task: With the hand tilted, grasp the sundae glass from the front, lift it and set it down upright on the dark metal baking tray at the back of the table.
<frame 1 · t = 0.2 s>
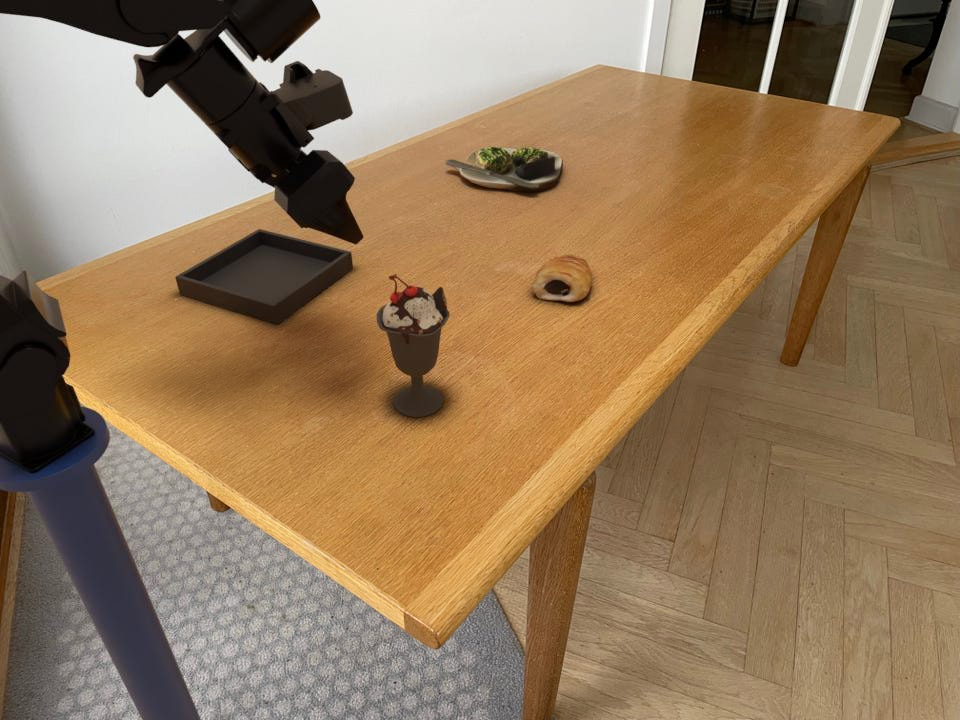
hand: (341, 222, 72), 14 cm above the table, tool tilted 35°, fingers open, 9 cm apart
baking tray: (269, 281, 92), on the table
sundae: (418, 403, 72), on the table
pastry: (562, 289, 91), on the table
salad plate: (513, 176, 122), on the table
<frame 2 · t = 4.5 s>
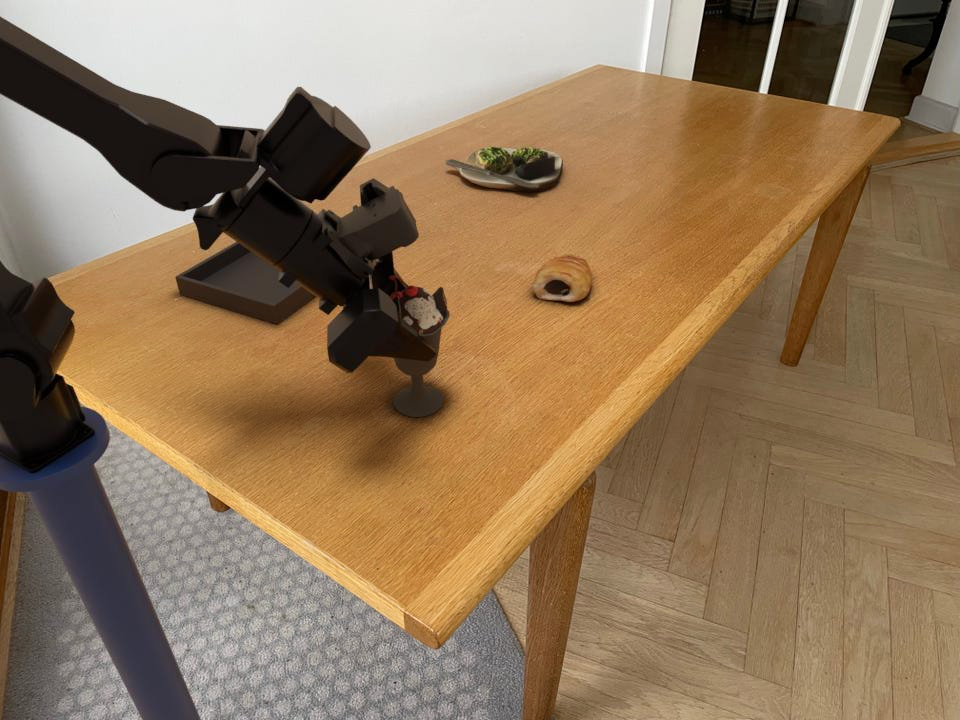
hand: (429, 336, 68), 8 cm above the table, tool tilted 45°, fingers closed on sundae, 6 cm apart
sundae: (418, 403, 72), on the table, touching gripper
everything else where it was.
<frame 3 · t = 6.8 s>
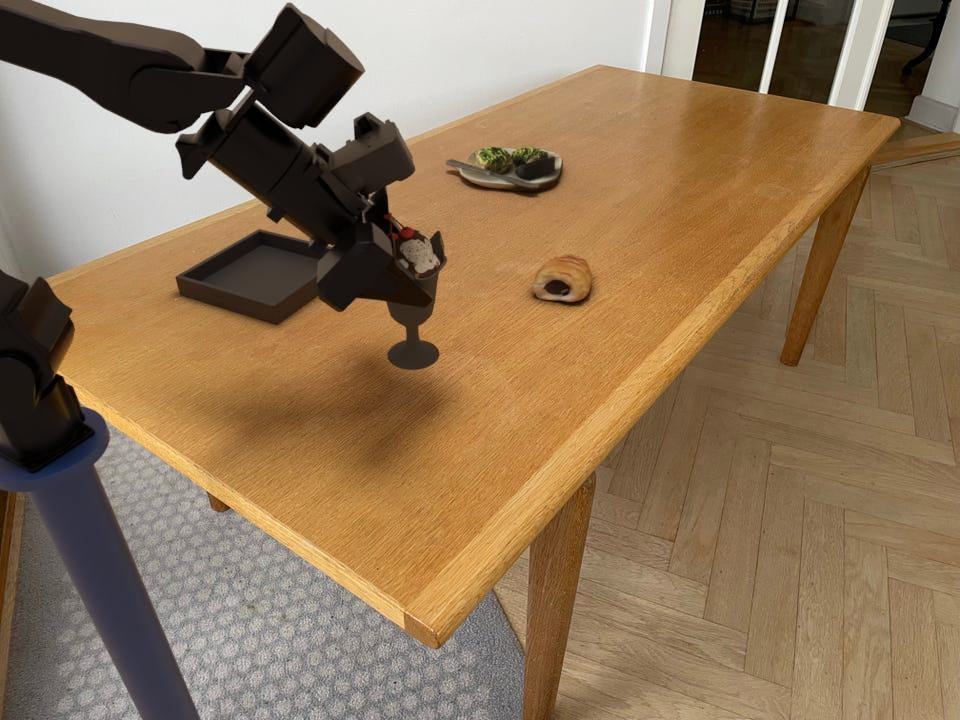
hand: (425, 284, 64), 13 cm above the table, tool tilted 45°, fingers closed on sundae, 6 cm apart
sundae: (413, 357, 69), point 5 cm above the table, touching gripper
everything else where it was.
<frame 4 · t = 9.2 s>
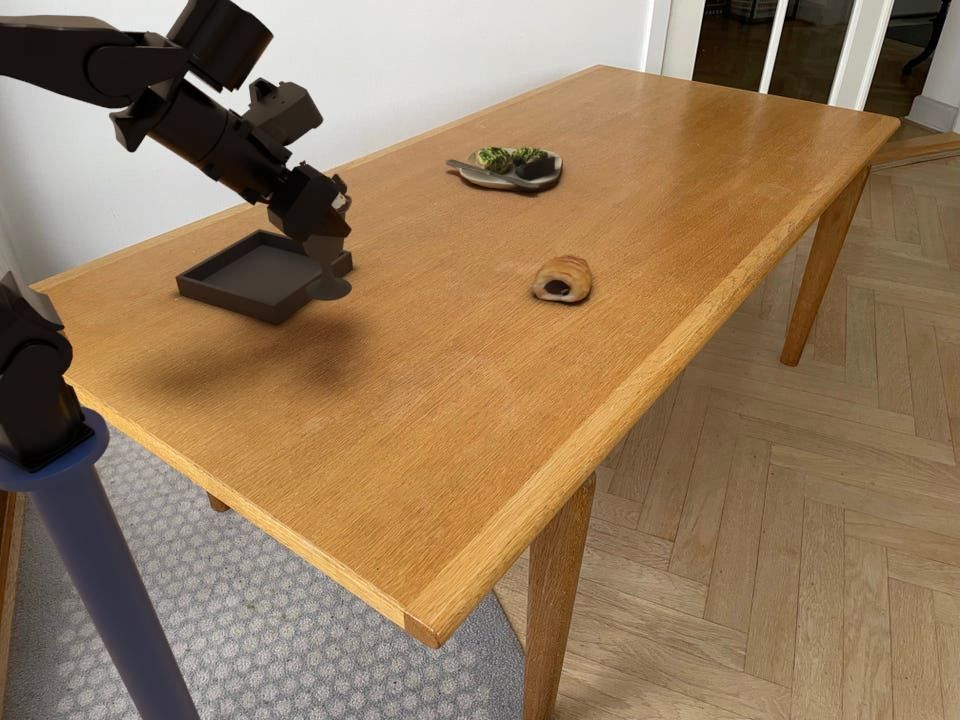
hand: (333, 222, 75), 13 cm above the table, tool tilted 45°, fingers closed on sundae, 6 cm apart
sundae: (329, 291, 79), point 5 cm above the table, touching gripper
everything else where it was.
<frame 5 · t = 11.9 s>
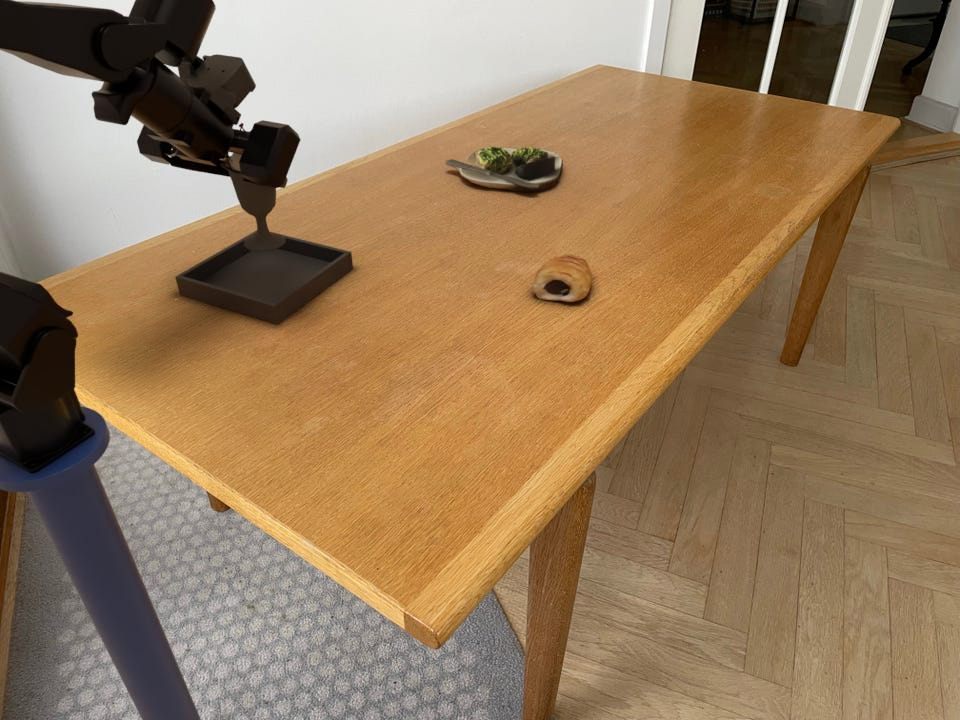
hand: (262, 179, 85), 13 cm above the table, tool tilted 45°, fingers closed on sundae, 6 cm apart
sundae: (265, 244, 88), point 5 cm above the table, touching gripper
everything else where it was.
when the fingers open (8 cm above the table, at t = 14.2 s): sundae stays where it is, resting on baking tray.
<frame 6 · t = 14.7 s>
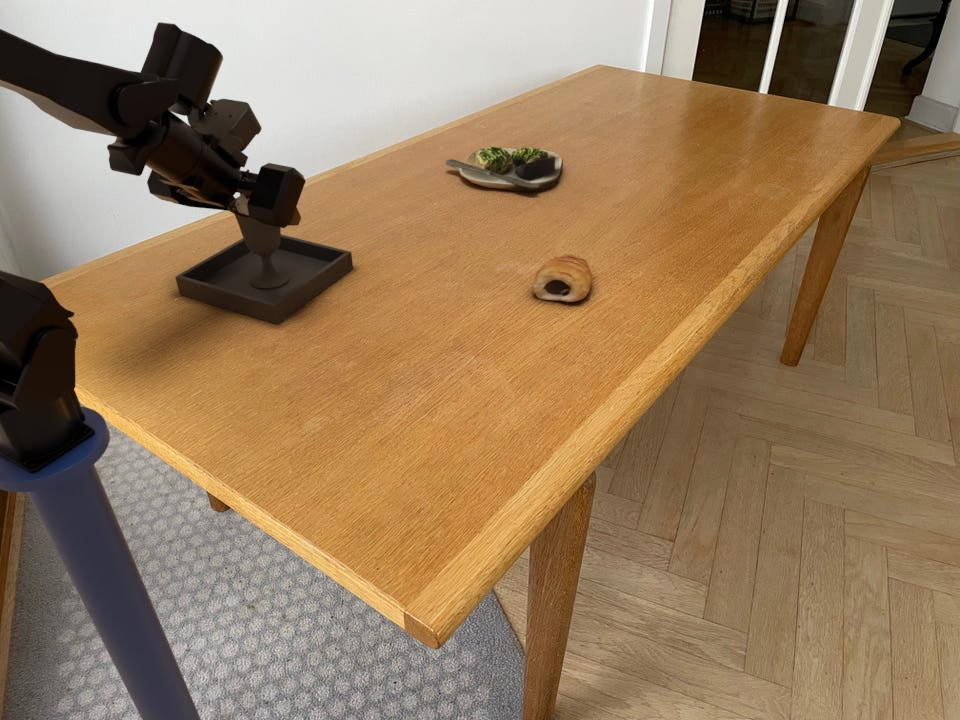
hand: (267, 214, 88), 9 cm above the table, tool tilted 45°, fingers open, 9 cm apart
sundae: (270, 281, 91), resting on baking tray
everything else where it was.
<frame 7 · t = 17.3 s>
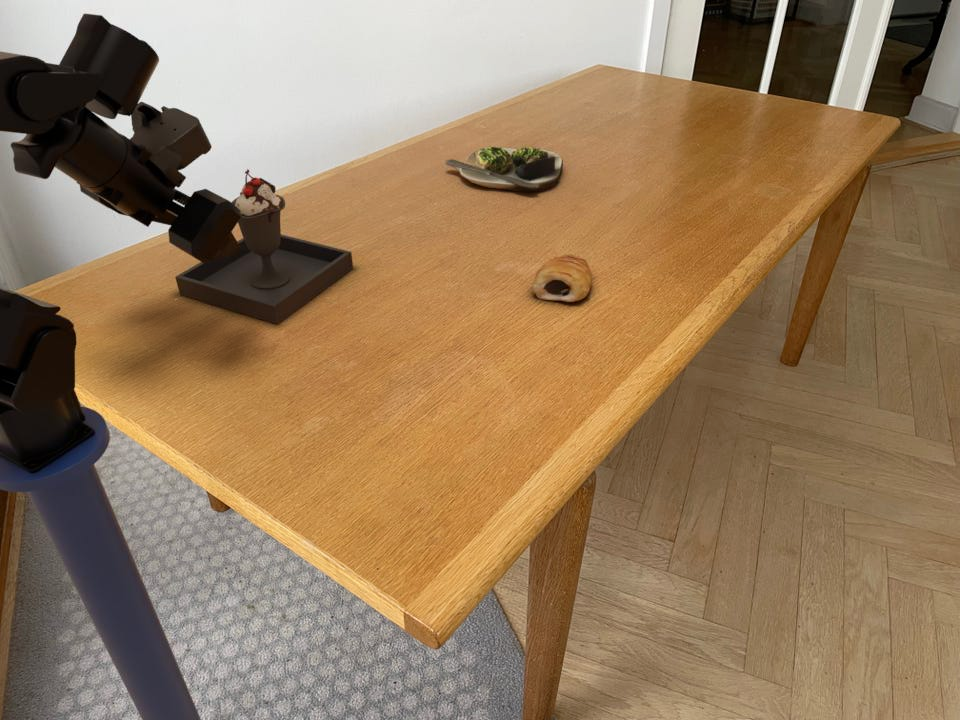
hand: (210, 238, 79), 10 cm above the table, tool tilted 40°, fingers open, 9 cm apart
nothing on the table moved.
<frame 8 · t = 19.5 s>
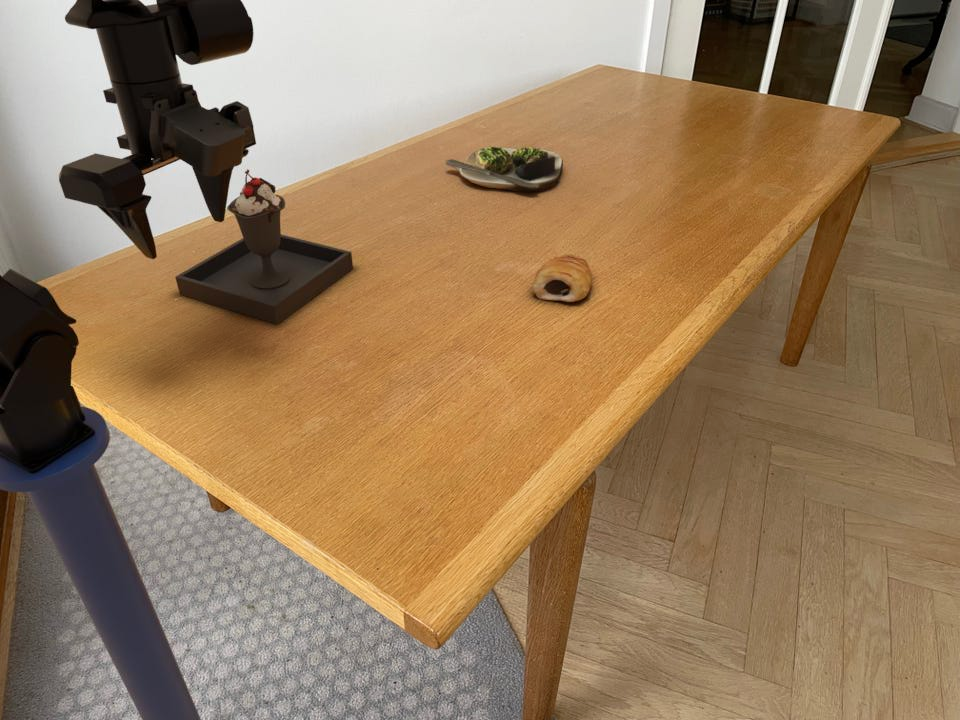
hand: (186, 238, 72), 13 cm above the table, tool pointing down, fingers open, 9 cm apart
nothing on the table moved.
at the end: sundae inside the target area in the baking tray (0.5 cm from its centre), point 0.3 cm above the baking tray's base; sundae tilted 0° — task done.
